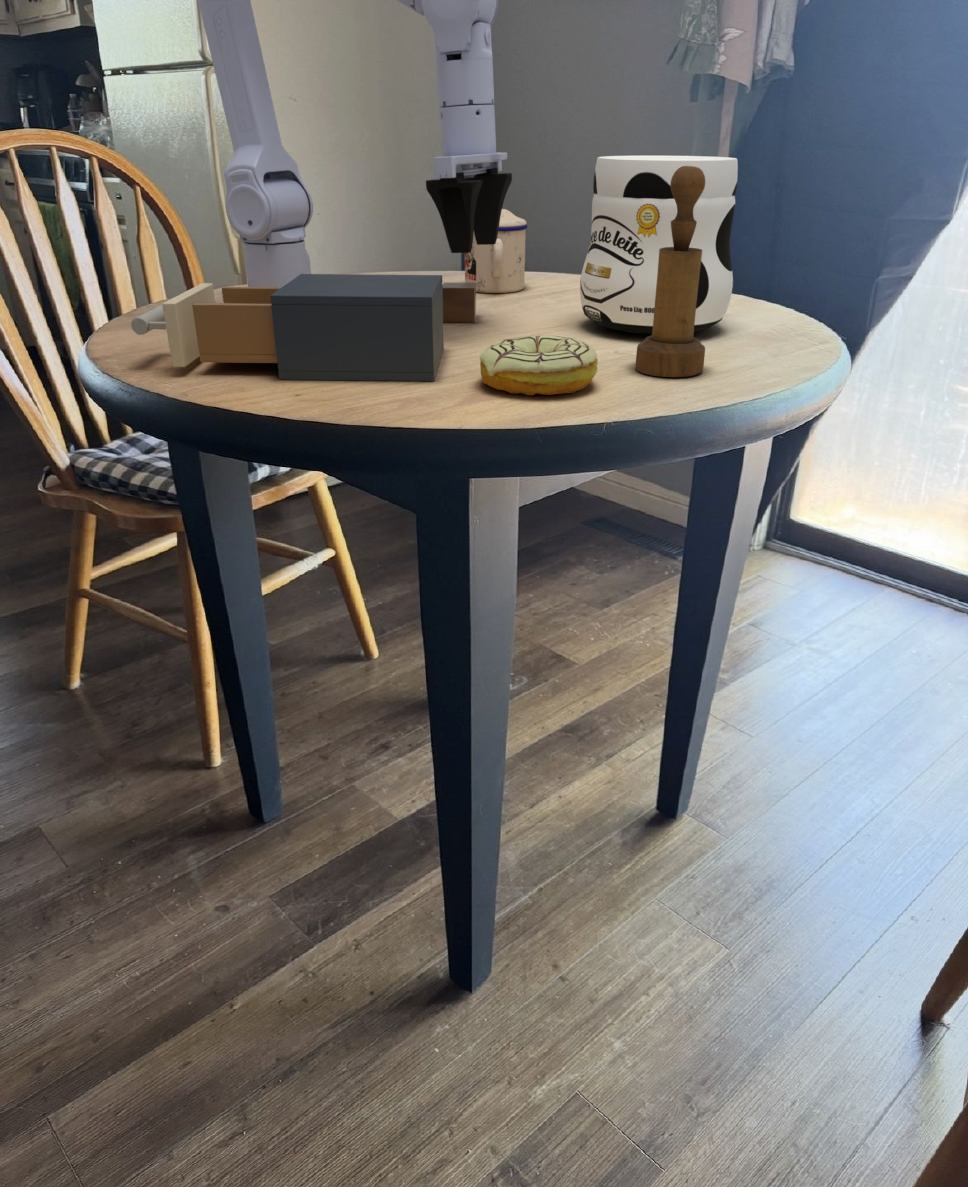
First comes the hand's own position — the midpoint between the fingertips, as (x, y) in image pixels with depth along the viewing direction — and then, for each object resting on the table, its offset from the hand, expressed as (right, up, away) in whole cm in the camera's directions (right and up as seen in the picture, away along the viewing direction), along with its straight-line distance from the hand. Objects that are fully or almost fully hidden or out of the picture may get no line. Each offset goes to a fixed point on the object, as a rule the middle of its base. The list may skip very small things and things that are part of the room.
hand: (474, 248), depth 96 cm
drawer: (-24, -14, -8) cm, 29 cm away
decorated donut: (+6, -19, -15) cm, 25 cm away
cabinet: (-11, -15, -8) cm, 20 cm away
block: (-2, -4, +12) cm, 13 cm away
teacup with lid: (+3, +6, +30) cm, 31 cm away
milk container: (+21, -7, +8) cm, 23 cm away
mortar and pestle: (+19, -16, -10) cm, 27 cm away
